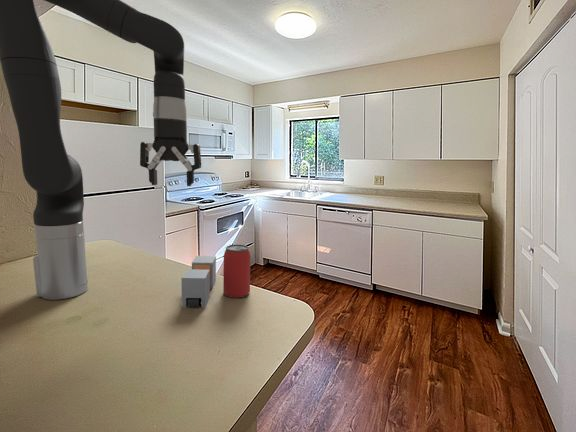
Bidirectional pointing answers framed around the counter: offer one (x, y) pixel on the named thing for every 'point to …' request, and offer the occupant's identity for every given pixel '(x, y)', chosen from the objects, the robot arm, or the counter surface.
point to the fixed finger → (206, 266)
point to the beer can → (236, 271)
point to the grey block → (196, 286)
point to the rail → (194, 302)
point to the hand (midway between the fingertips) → (171, 185)
